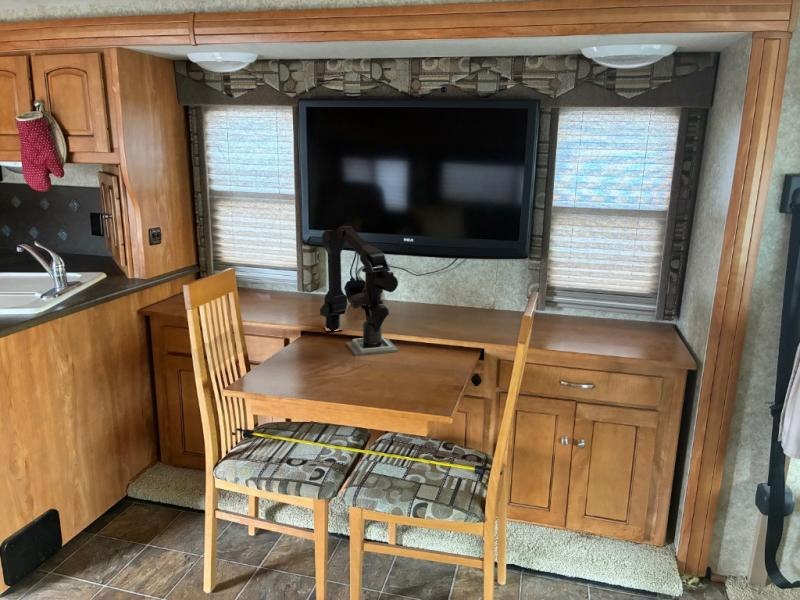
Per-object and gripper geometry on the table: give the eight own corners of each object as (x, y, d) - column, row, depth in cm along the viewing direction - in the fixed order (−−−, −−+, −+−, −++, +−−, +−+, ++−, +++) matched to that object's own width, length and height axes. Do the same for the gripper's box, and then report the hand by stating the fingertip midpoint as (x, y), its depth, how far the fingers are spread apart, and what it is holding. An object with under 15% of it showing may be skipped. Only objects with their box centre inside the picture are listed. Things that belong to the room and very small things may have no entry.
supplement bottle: (360, 343, 223) (360, 312, 220) (378, 342, 225) (378, 311, 222) (365, 350, 217) (366, 318, 213) (384, 348, 219) (384, 316, 216)
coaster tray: (346, 344, 224) (346, 339, 224) (387, 340, 229) (387, 335, 229) (355, 355, 213) (355, 350, 213) (398, 351, 219) (398, 346, 218)
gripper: (344, 281, 221) (344, 322, 225) (358, 294, 204) (357, 338, 208) (373, 279, 224) (373, 319, 229) (389, 292, 207) (388, 335, 212)
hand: (372, 327), depth 219 cm, fingers open, 9 cm apart
